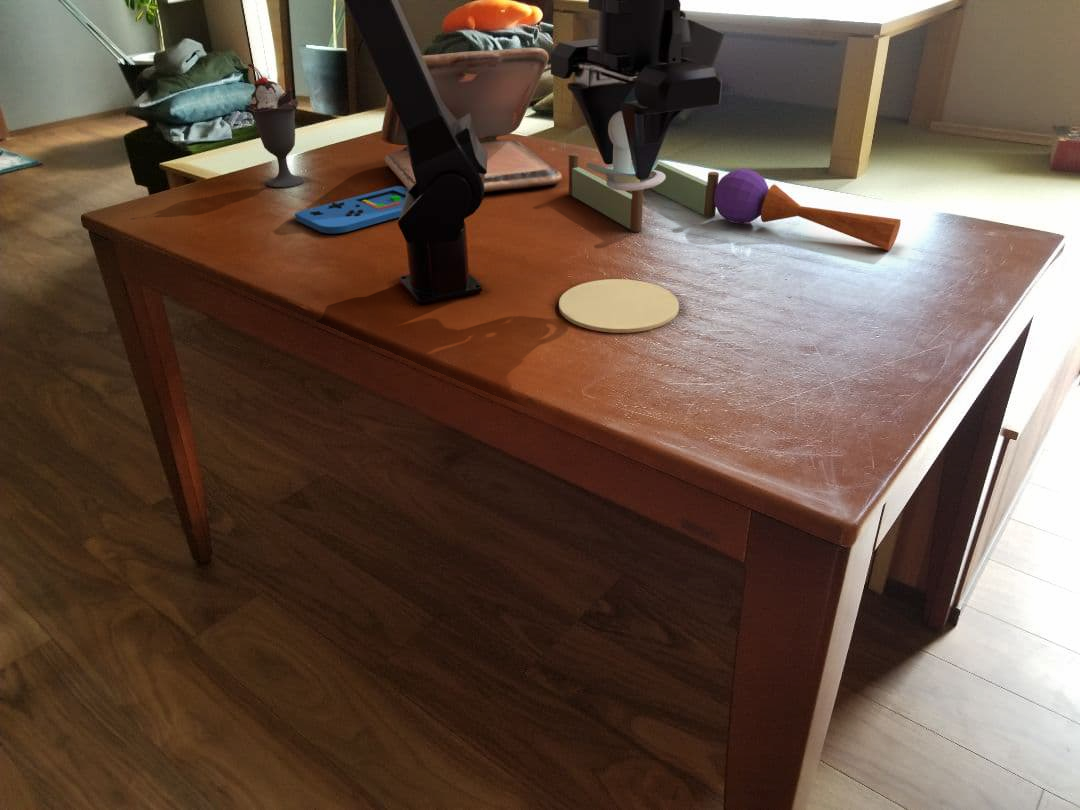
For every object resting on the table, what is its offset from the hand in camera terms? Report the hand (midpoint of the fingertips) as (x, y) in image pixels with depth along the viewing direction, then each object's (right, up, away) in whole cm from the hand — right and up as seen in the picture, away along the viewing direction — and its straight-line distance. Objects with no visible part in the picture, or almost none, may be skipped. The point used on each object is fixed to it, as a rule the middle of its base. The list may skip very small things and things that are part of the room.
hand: (626, 171), depth 79 cm
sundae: (-42, +8, +36) cm, 56 cm away
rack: (+4, +3, +25) cm, 26 cm away
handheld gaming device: (-29, +1, +24) cm, 38 cm away
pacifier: (0, -1, 0) cm, 1 cm away
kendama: (+21, -3, +16) cm, 26 cm away
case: (-17, +10, +38) cm, 42 cm away
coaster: (-1, -12, +1) cm, 12 cm away
